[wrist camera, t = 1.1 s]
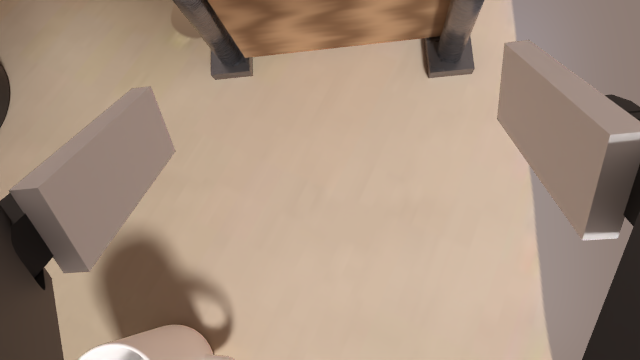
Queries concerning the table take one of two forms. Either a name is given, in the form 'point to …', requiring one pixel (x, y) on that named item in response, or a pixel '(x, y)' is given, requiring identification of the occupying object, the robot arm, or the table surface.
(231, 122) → the table surface
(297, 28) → the gate
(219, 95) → the table surface
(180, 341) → the mug
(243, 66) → the gate frame
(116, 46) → the table surface
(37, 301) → the robot arm
